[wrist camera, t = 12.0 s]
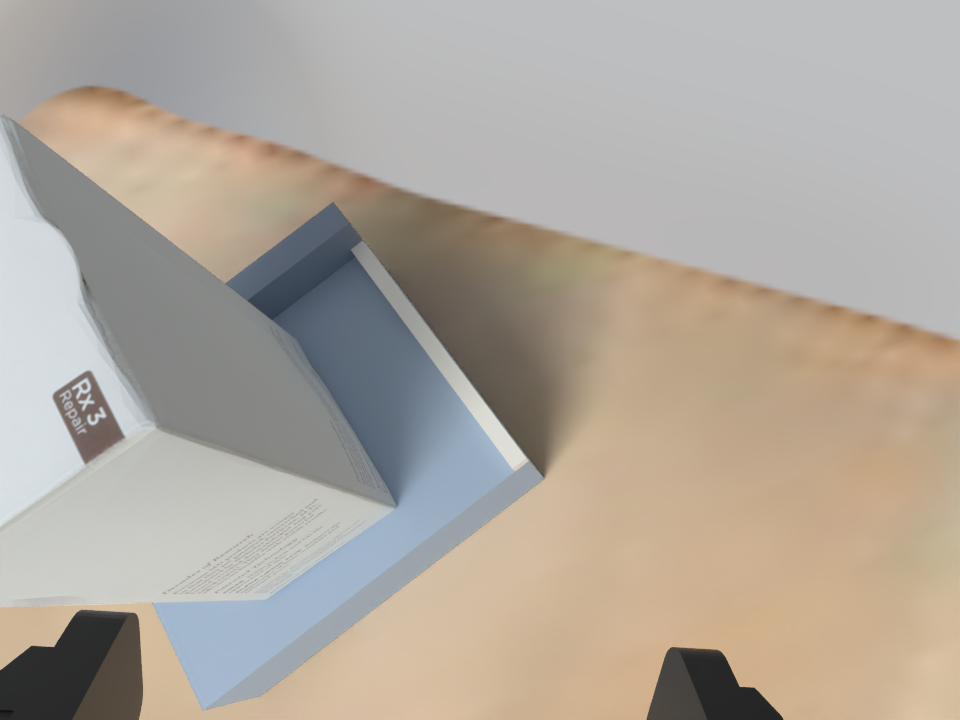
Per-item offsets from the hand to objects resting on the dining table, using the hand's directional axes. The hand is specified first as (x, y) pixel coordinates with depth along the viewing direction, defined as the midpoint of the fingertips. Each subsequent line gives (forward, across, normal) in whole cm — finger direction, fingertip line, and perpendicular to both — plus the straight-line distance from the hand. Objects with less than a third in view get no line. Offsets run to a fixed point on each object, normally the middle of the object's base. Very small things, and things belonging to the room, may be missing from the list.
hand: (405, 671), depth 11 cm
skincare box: (+15, +4, +6) cm, 17 cm away
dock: (+19, +3, +8) cm, 21 cm away
